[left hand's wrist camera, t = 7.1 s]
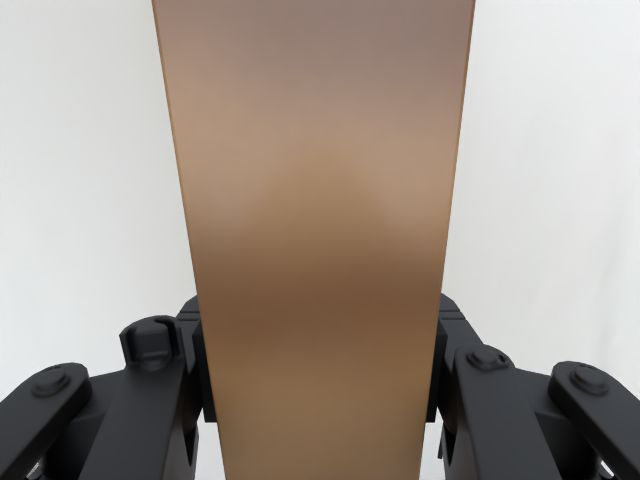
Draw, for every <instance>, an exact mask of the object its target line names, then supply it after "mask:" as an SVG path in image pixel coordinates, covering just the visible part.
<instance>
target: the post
mask: <svg viewBox="0 0 640 480" xmlns="http://www.w3.org/2000/svg"><path fill="white" fill-rule="evenodd" d="M475 1H476V0H152V6H153V13H154V19H155V26H156V32H157V38H158V45H159V51H160V58H161V64H162V71H163V77H164V84H165V90H166V97H167V103H168V110H169V116H170V122H171V129H172V135H173V142H174V148H175V155H176V161H177V168H178V174H179V181H180V187H181V193H182V200H183V206H184V213H185V219H186V226H187V232H188V239H189V245H190V252H191V258H192V265H193V271H194V277H195V284H196V290H197V297H198V303H199V310H200V316H201V323H202V329H203V336H204V342H205V349H206V355H207V361H208V368H209V374H210V381H211V387H212V394H213V400H214V407H215V413H216V420H217V426H218V432H219V439H220V445H221V452H222V458H223V465H224V471H225V478H226V480H419V474H420V466H421V457H422V449H423V441H424V432H425V424H426V415H427V407H428V398H429V390H430V381H431V373H432V364H433V356H434V348H435V339H436V331H437V322H438V314H439V305H440V297H441V288H442V280H443V271H444V263H445V255H446V246H447V238H448V229H449V221H450V212H451V204H452V195H453V187H454V178H455V170H456V162H457V153H458V145H459V136H460V128H461V119H462V111H463V102H464V94H465V85H466V77H467V69H468V60H469V52H470V43H471V35H472V26H473V18H474V9H475Z"/></svg>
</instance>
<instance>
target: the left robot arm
mask: <svg viewBox="0 0 640 480" xmlns="http://www.w3.org/2000/svg"><path fill="white" fill-rule="evenodd" d="M119 337H120V341H121V345H122V349H123V353H124V358H125V362H126V366H125V369H124V370H120V371H117V372H112V373H108V374H103V375H98V376H94V377H89V374H88V371H87V368H86V367H84V366H83V365H82V364H78V363H64V364H58V365H54V366H51V367H48V368H46V369H44V370H42V371H40V372H38V373H36V374H34V375H32V376H31V377H29V378H28V379H27V380H25V381H24V382H23V383H21V384H20V385H19V386H18V387H17V388H16V389H15V390H14V391H13V392H11V393H10V394H9V395H8V396H7V397H6V398H5V399H4V400H3V401H2V402H0V480H194V479H195V470H196V460H197V451H198V441H199V433H198V427H197V420H198V417H199V415H200V412H201V410H202V407H203V413H204V419H205V422H217V420H216V413H215V407H214V400H213V394H212V387H211V381H210V374H209V368H208V361H207V355H206V349H205V342H204V336H203V329H202V323H201V316H200V310H199V303H198V297H197V295H196V296H194V297H193V298H192V299H190V300H189V301H187V302H186V303H185V305H184V306H183V307H182V309H181V310H180V313H178V315H177V316H176V318H175V317H171V316H167V315H162V316H152V317H147V318H144V319H141V320H139V321H136V322H134V323H132V324H131V325H129V326H127V327H126V328H125V329H124V330H123V331H122V332H121V333H120V335H119ZM437 406H438V409H439V411H440V414H441V416H442V419H443V427H442V433H441V439H440V445H439V451H438V458H439V459H442V457H443V459H444V469H445V478H446V480H640V400H638V399H637V398H636V397H635V396H634V395H633V394H632V393H631V392H630V391H628V390H627V389H626V388H625V387H624V386H623V385H622V384H621V383H620V382H618V381H617V380H616V379H614V378H613V377H612V376H610V375H609V374H607V373H606V372H604V371H602V370H600V369H598V368H596V367H594V366H591V365H587V364H584V363H580V362H572V361H565V362H559V363H557V364H556V365H555V366H554V367H553V370H552V373H551V376H548V375H544V374H539V373H534V372H530V371H525V370H521V369H518V368H515V366H514V364H513V362H512V361H511V359H510V358H509V357H508V356H507V355H505V354H504V353H503V352H501V351H500V350H498V349H496V348H494V347H491V346H489V345H485V344H483V342H482V341H481V340H480V338H479V337H478V335H477V334H476V332H475V331H474V330H473V328H472V327H471V325H470V324H469V322H468V321H467V320H466V319H465V317H464V315H463V314H462V312H460V309H459V308H458V307H457V305H456V304H455V302H454V301H453V300H451V299H450V298H448V297H447V296H446V295H444V294H443V293H441V297H440V305H439V314H438V322H437V331H436V339H435V348H434V356H433V364H432V373H431V381H430V390H429V398H428V407H427V415H426V423H435V417H436V411H437ZM602 460H603V461H604V462H605V464H606V465H607V466H608V467H609V469H610V470H611V471H612V472H613V473H614V476H611V475H610V474H609V473H608V472H607V471H606V470H605V468H604V467H603V466H602V465H601V462H602ZM37 462H38V463H39V466H38V468H37V469H36V470H35V471H34V473H32V474H31V475H30V476H29V477H28V478H27V477H26V476H27V474H28V473H29V472H30V471H31V469H32V468H33V467H34V466H35V465H36V463H37Z"/></svg>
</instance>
